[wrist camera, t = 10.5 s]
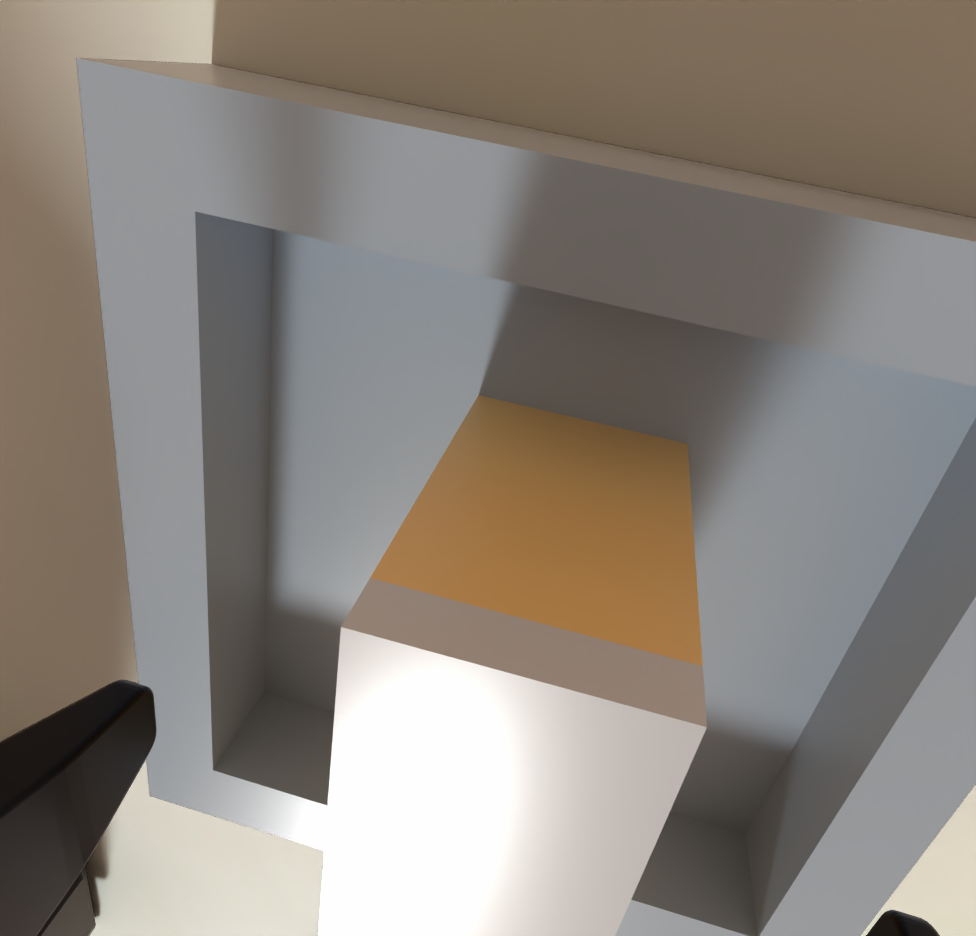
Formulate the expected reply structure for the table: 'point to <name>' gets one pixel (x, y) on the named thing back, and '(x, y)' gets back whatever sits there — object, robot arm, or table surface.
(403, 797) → the white and orange block
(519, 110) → the table surface
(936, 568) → the tray
